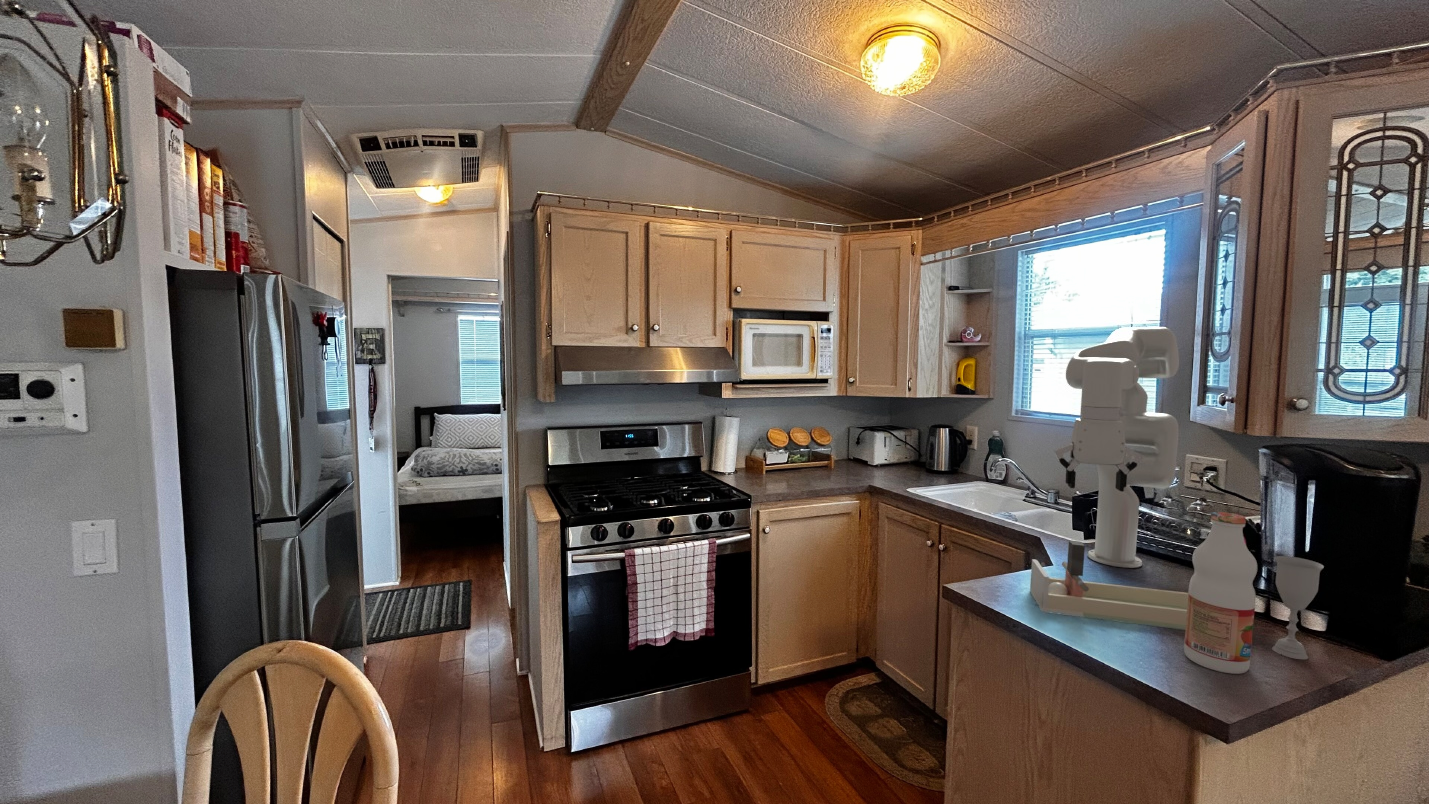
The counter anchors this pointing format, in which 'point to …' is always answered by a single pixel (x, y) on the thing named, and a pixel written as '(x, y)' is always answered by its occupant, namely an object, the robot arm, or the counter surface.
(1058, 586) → the ball
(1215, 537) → the fruit juice
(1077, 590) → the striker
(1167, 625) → the cream long tray
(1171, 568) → the counter surface
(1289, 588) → the chalice
